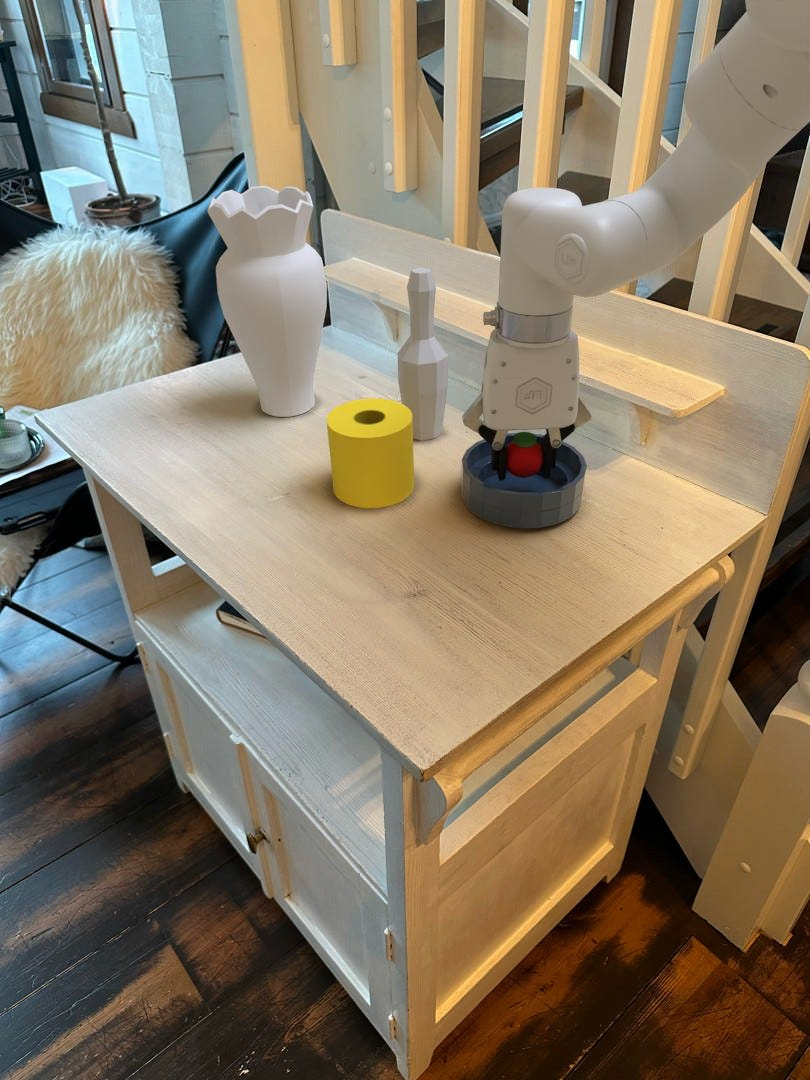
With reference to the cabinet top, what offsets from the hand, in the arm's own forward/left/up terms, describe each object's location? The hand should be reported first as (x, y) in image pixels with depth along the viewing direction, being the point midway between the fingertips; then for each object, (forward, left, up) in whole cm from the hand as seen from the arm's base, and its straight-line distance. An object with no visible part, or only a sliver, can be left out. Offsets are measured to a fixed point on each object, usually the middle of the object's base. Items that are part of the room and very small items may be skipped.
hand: (522, 472), depth 88 cm
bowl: (0, 0, -4) cm, 4 cm away
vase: (+38, -16, -4) cm, 41 cm away
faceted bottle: (+16, -13, -4) cm, 21 cm away
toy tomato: (0, 0, 0) cm, 0 cm away
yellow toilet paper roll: (+18, +2, -4) cm, 18 cm away
